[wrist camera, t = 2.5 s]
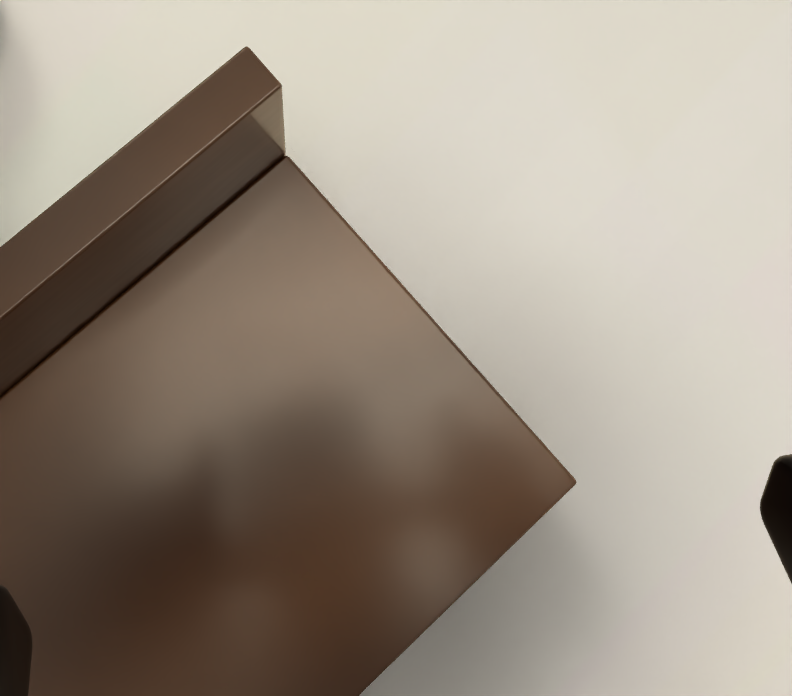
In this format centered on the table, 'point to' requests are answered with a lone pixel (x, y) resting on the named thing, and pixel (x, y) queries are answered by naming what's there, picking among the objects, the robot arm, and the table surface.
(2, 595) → the robot arm
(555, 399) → the table surface
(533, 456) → the desk shelf
